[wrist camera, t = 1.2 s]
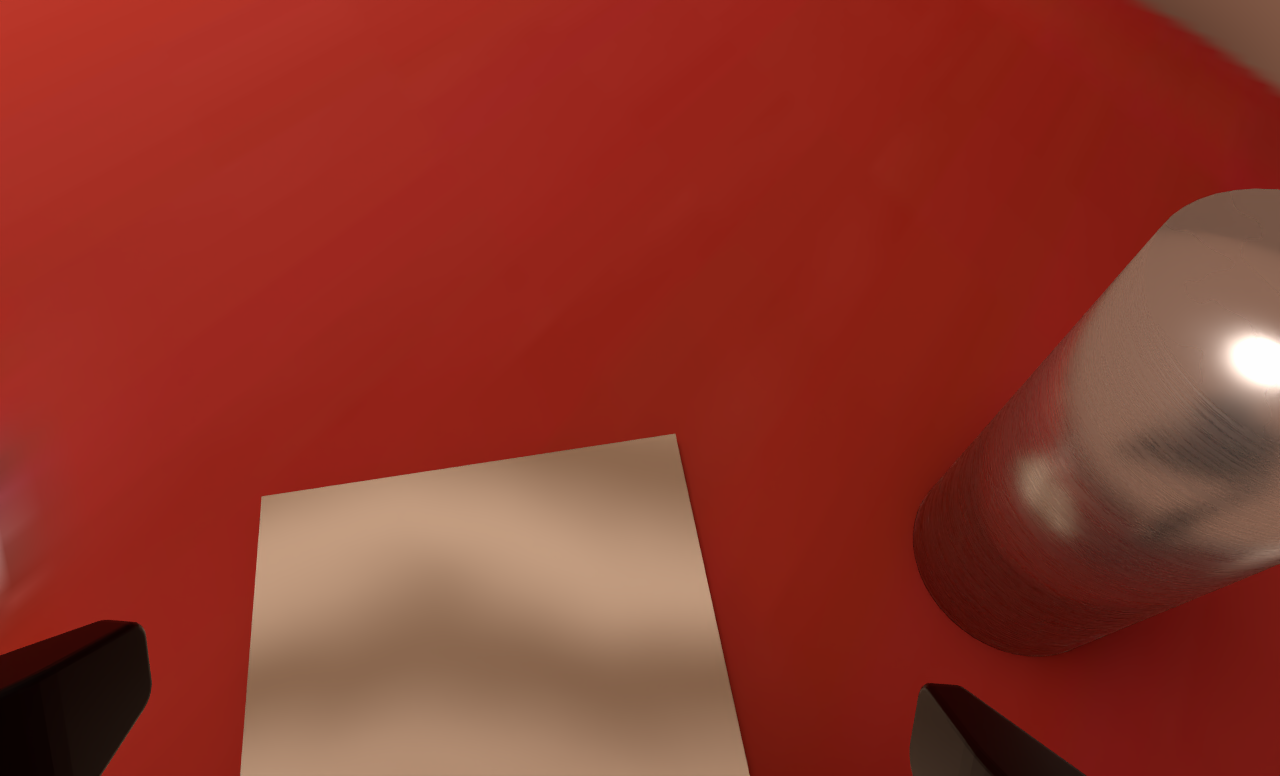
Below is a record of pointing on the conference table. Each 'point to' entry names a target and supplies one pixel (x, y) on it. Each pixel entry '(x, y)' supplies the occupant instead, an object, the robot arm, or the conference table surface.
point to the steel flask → (1127, 449)
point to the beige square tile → (490, 625)
